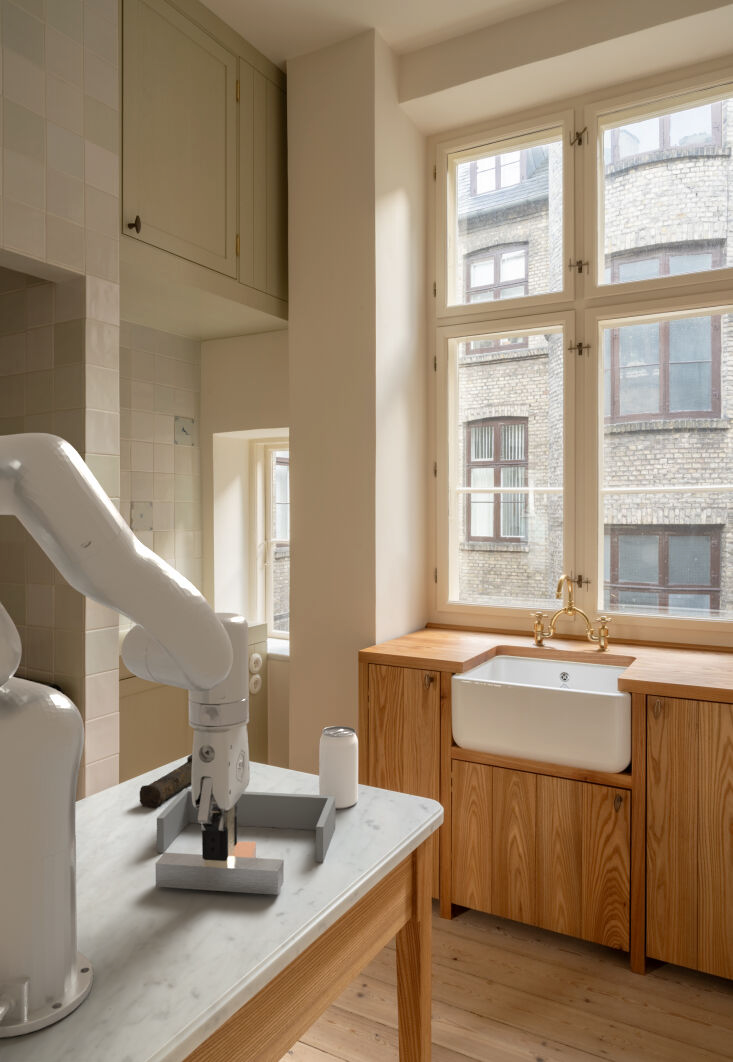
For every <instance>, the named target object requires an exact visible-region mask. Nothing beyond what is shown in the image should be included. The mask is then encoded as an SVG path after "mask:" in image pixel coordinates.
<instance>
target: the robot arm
mask: <svg viewBox="0 0 733 1062" xmlns="http://www.w3.org/2000/svg"><path fill="white" fill-rule="evenodd" d="M0 515H1V516H15V517H16V518H17V519H18V521H19V522H20V523H21V524H22V526H23V527H24V529H26V530H27V532H28V533H29V534H30V535H31V537H32V538H33V539H34V540H35V542H36V544H38V546H39V547H40V548H41V550H42V551H43V552H44V553H45V555H46V556H47V557H48V559H49V560H50V561H51V562H52V564H53V565H54V566H55V568H56V570H58V572H59V573H60V574H61V576H62V577H63V578H64V580H65V581H66V583H68V584H69V585H70V586H71V587H72V588H73V589H74V590H76V591H78V593H80V594H82V595H83V596H85V597H86V598H88V599H90V600H91V601H93V602H95V603H96V604H99V605H101V606H103V607H106V608H108V609H109V610H113V612H116V613H118V614H120V615H122V616H123V617H125V618H127V619H128V620H130V621H131V622H132V623H134V624H135V625H134V626H133V627H132V628H131V629H129V631H128V632H127V633H126V635H125V636H124V638H123V641H122V642H121V647H120V648H121V649H120V656H121V660H122V662H123V664H124V666H125V668H126V669H127V670H128V671H129V672H130V673H131V674H133V675H134V676H136V677H137V678H140V679H143V680H145V681H149V682H153V683H157V684H161V685H167V686H173V687H176V688H180V689H183V690H188V725H189V727H190V728H192V729H194V730H193V741H192V753H191V754H192V780H191V783H190V784H191V785H190V786H191V789H192V803H193V806H194V807H195V808H196V809H198V808H199V814H198V823H197V824H199V823H201V828H200V829H201V839H202V840H201V841H202V842H201V843H202V844H201V845H202V849H201V851H202V853H201V855H202V857H203V859H204V860H214V861H226V860H227V858H228V828H225V821H226V810H229V809H231V808H232V807H233V806H234V814H236V813H237V801H238V799H239V798H240V797H241V795H242V794H243V792H244V791H245V792H246V790H247V788H248V786H249V785H250V779H251V774H250V772H251V771H250V754H249V753H250V751H249V737H248V727H247V724H248V723H249V722H250V717H249V716H250V692H249V691H250V689H249V688H250V680H249V679H250V677H249V669H250V668H249V667H250V666H249V665H250V663H249V659H250V658H249V657H250V656H249V654H250V653H249V651H250V650H249V646H250V645H249V643H250V642H249V625H248V624H249V623H248V621H247V619H246V617H244V616H243V615H241V614H239V613H234V612H215V610H214V609H213V607H212V606H211V605H210V602H208V600H207V599H206V597H205V596H203V595H202V593H201V592H200V591H199V590H198V588H196V587H195V586H194V585H193V584H192V583H191V582H190V581H189V580H188V579H186V578H185V577H184V576H182V575H181V574H180V573H179V572H178V571H177V570H176V569H174V568H173V567H172V566H170V564H168V563H167V562H166V561H165V560H163V559H162V558H161V557H160V556H159V555H158V554H156V553H155V552H154V551H152V549H150V548H148V547H147V546H146V545H144V544H143V543H142V542H141V541H140V540H139V539H138V538H137V536H136V535H135V533H134V532H133V531H132V529H131V528H130V526H129V525H128V524H127V522H126V521H125V519H124V518H123V516H122V515H121V513H120V512H119V511H118V509H117V507H116V506H115V504H114V503H113V502H112V500H111V499H110V497H109V496H108V494H107V493H106V492H105V490H104V488H103V486H101V484H100V483H99V480H97V478H96V476H94V473H92V471H91V469H89V467H88V465H87V464H86V462H85V460H83V458H82V457H81V455H80V454H79V453H78V451H77V450H76V449H75V447H74V446H72V444H70V443H69V442H68V441H67V440H65V439H64V438H62V437H61V436H58V435H55V434H51V433H46V432H26V433H24V432H23V433H16V434H15V433H14V434H8V435H7V434H6V435H0ZM22 649H23V648H22V641H21V637H20V634H19V631H18V629H17V627H16V625H15V622H14V621H13V619H12V617H11V616H10V614H9V613H8V611H7V610H6V608H5V606H4V605H3V604H2V601H0V1038H11V1037H16V1036H21V1035H26V1034H29V1033H33V1032H35V1031H36V1032H37V1031H39V1030H41V1029H44V1028H46V1027H49V1026H50V1025H52V1024H54V1023H56V1022H58V1021H60V1020H62V1019H63V1018H65V1017H66V1016H68V1015H69V1014H71V1013H72V1012H73V1011H75V1009H77V1008H78V1007H79V1006H80V1005H81V1004H82V1003H83V1002H84V1001H85V999H86V998H87V996H88V995H89V993H90V992H91V989H92V987H93V982H94V969H93V968H94V967H93V965H92V962H91V961H90V959H89V958H88V957H87V956H86V955H85V954H83V953H82V952H80V951H78V941H77V940H78V938H77V937H78V935H77V934H78V933H77V932H78V930H77V929H78V928H77V925H78V924H77V922H78V921H77V911H78V910H77V836H76V805H77V803H76V802H77V787H78V779H79V771H80V766H81V760H82V756H83V751H84V750H83V749H84V744H85V727H84V726H85V725H84V721H83V718H82V714H81V713H80V711H79V709H78V707H77V706H76V704H75V703H74V702H73V701H72V700H71V698H69V697H68V696H67V695H66V694H63V693H62V692H61V691H59V690H57V688H53V687H51V686H49V685H46V684H42V683H38V682H35V681H30V680H27V679H24V678H19V677H15V676H14V674H15V673H16V672H17V671H18V668H19V665H20V663H21V659H22V653H23V651H22ZM213 801H214V803H213ZM212 811H219V818H218V816H217V814H212ZM234 819H235V825H234V843H235V846H236V844H237V842H238V826H237V815H234Z"/></svg>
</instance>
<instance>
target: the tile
mask: <svg viewBox="0 0 733 1062" xmlns="http://www.w3.org/2000/svg"><path fill="white" fill-rule="evenodd" d="M235 857H247V858H257V841H237V844H236V846H235Z"/></svg>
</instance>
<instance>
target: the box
mask: <svg viewBox="0 0 733 1062" xmlns="http://www.w3.org/2000/svg"><path fill="white" fill-rule="evenodd" d="M181 790H182V791H180V792H179V794H178V795H176V796H175V798H174V799H173V800H172V801H170V803H169V804H168V805H167V806H166V807H165V808H164V810H163V811H162V812H160V814H159V815H158V816H157V817H156V853H158V852H160V853H161V854H164V853H166V852H167V849H168V848H169V847H170V846H171V845H172V844H173V842H174V841H175V840H176V839H177V837H178V836H179V835H180V834H181V832H182V831H183V830H184V829H185V828H186V826H188V824H198V825H199V824H201V823H198V814H199V808H198V809H196V808H195V807H194V806H193V803H192V788H185V787H183V788H182V789H181ZM213 803H214V801H213ZM234 815H237V827H240V826H241V827H254V826H255V828H256V827H259V828H272V827H277V828H278V829H293V830H295V829H296V830H310V831H311V830H313V831H315V862H316V863H324V862H325V859H326V856H327V853H328V850H329V847H330V844H331V841H332V838H333V836H334V833H335V830H336V809H335V796H326V795H319V794H304V793H303V794H302V793H285V792H284V793H281V792H280V793H279V792H267V791H265V792H264V791H263V792H262V791H246V790H245V791H244V792H243V794H242V795H241V797H240V798H239V799H238V801H237V813H236V814H234ZM277 828H276V829H277ZM160 853H158V854H160Z"/></svg>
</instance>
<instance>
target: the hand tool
mask: <svg viewBox="0 0 733 1062" xmlns="http://www.w3.org/2000/svg"><path fill="white" fill-rule="evenodd" d="M186 759H187V760H186V762H184V763H183V764H182V765H180V766H178V767H177V768H175V769H174V770H172V771H170V772H168V773H167V774H166V775H164V776H161V777H160V778H158V779H157V780H155V781H153V782H151V783H150V784H147V785H146V784H145V785H141V787H140V790H139V802H140V804H141V806H142V807H144V808H149V809H157V808H159V806H160V805H162V804H164V802H165V800H166V799H168V798H169V797H171V796H172V795H175V793H177V792H179V791H180V790H183V789H184V788H185V787H186V786H188V785H189V784H191V780H192V753H191V754H190V755H189V756H188V757H187V758H186Z"/></svg>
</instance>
